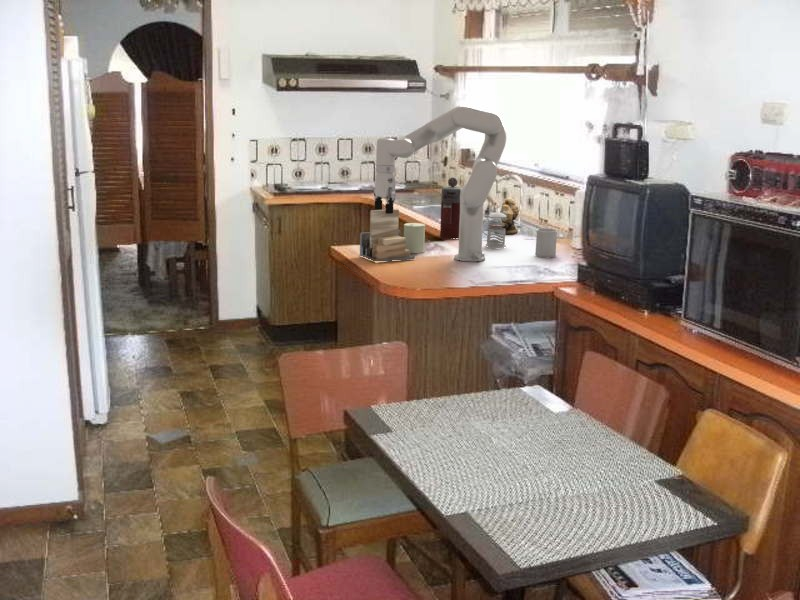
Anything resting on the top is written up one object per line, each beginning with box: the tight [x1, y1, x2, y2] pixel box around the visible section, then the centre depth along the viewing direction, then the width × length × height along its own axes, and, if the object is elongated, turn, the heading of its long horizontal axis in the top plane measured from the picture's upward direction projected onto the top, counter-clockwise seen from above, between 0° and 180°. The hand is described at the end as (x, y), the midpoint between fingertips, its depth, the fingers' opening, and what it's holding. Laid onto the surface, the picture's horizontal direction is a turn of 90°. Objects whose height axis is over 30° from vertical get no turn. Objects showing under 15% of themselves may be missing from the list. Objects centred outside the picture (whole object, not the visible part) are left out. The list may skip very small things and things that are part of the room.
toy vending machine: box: [439, 176, 463, 240], centre depth 414 cm, size 9×11×28 cm
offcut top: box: [378, 236, 406, 246], centre depth 361 cm, size 5×10×2 cm, turn 126°
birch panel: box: [369, 208, 400, 248], centre depth 366 cm, size 2×12×18 cm, turn 118°
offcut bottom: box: [372, 249, 411, 259], centre depth 362 cm, size 6×14×2 cm, turn 118°
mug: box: [534, 228, 558, 258], centre depth 380 cm, size 12×8×11 cm
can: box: [403, 222, 426, 254], centre depth 381 cm, size 9×9×12 cm
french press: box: [482, 189, 507, 249], centre depth 395 cm, size 10×12×25 cm
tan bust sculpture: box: [493, 197, 519, 236], centre depth 435 cm, size 18×12×17 cm, turn 176°
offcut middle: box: [373, 244, 406, 252], centre depth 361 cm, size 6×12×2 cm, turn 118°
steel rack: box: [359, 229, 416, 261], centre depth 364 cm, size 14×18×10 cm
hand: (383, 211), depth 364 cm, fingers open, 9 cm apart
